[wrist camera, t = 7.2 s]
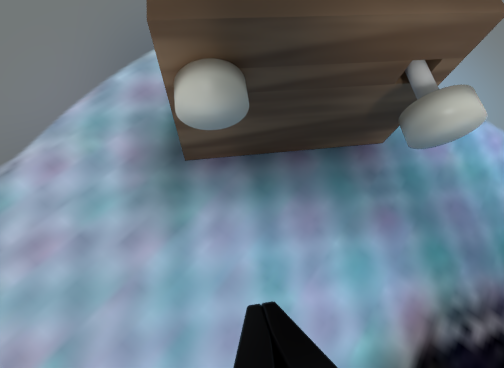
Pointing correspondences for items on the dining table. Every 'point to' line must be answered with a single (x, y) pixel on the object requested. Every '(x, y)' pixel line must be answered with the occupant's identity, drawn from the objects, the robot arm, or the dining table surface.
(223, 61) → the knob
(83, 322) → the dining table surface
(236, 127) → the knob mount
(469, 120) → the knob
